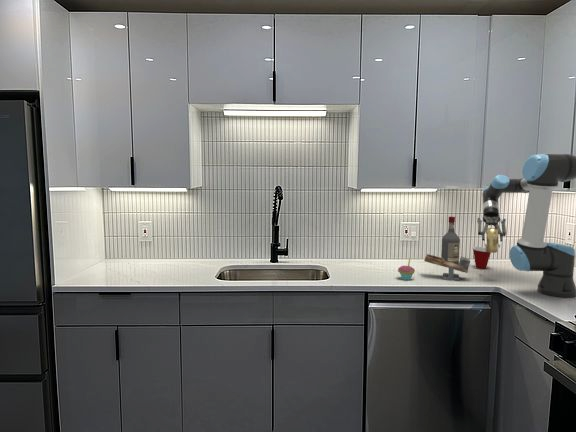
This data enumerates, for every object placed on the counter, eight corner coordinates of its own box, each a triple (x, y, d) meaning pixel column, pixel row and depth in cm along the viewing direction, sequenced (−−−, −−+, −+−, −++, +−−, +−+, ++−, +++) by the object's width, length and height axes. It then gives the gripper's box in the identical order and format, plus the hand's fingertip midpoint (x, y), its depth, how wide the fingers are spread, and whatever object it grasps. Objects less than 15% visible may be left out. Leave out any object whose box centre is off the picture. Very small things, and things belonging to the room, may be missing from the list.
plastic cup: (484, 270, 222) (485, 250, 221) (467, 267, 231) (468, 247, 230) (495, 268, 228) (496, 248, 227) (478, 265, 237) (478, 246, 236)
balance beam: (466, 269, 207) (469, 258, 206) (467, 273, 199) (470, 261, 198) (425, 258, 215) (427, 247, 214) (424, 261, 207) (427, 250, 206)
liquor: (438, 263, 242) (440, 216, 239) (450, 262, 245) (452, 215, 242) (449, 266, 234) (451, 217, 231) (461, 265, 237) (463, 217, 234)
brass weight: (499, 251, 199) (500, 228, 198) (494, 253, 195) (495, 229, 194) (488, 250, 203) (489, 227, 202) (483, 251, 200) (484, 228, 198)
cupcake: (417, 278, 205) (417, 256, 203) (409, 281, 199) (410, 259, 197) (402, 276, 211) (403, 254, 209) (394, 278, 205) (395, 256, 203)
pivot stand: (458, 276, 210) (459, 262, 209) (459, 281, 200) (459, 267, 199) (442, 274, 213) (443, 261, 212) (442, 279, 203) (443, 265, 202)
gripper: (509, 215, 208) (512, 251, 195) (471, 214, 215) (471, 248, 202) (511, 206, 202) (514, 242, 189) (472, 205, 209) (472, 240, 196)
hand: (492, 245), depth 195 cm, fingers closed on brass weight, 5 cm apart
